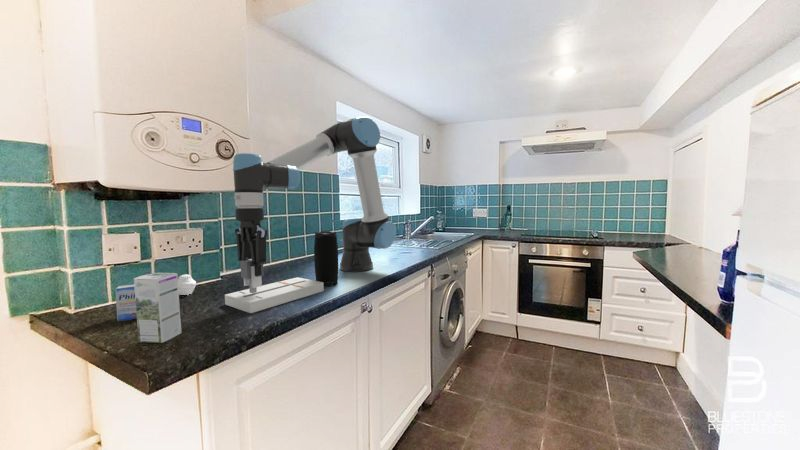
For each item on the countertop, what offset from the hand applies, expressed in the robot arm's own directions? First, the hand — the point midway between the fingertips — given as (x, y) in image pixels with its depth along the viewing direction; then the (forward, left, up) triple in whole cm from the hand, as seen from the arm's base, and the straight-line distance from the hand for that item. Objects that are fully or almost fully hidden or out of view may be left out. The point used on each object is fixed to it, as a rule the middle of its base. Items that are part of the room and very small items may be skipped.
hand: (252, 285), depth 93 cm
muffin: (+7, -29, -6) cm, 30 cm away
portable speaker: (-28, +1, -6) cm, 29 cm away
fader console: (-8, 0, -6) cm, 10 cm away
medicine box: (+23, -17, -6) cm, 29 cm away
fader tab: (0, 0, -2) cm, 2 cm away
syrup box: (+25, +5, -6) cm, 26 cm away
